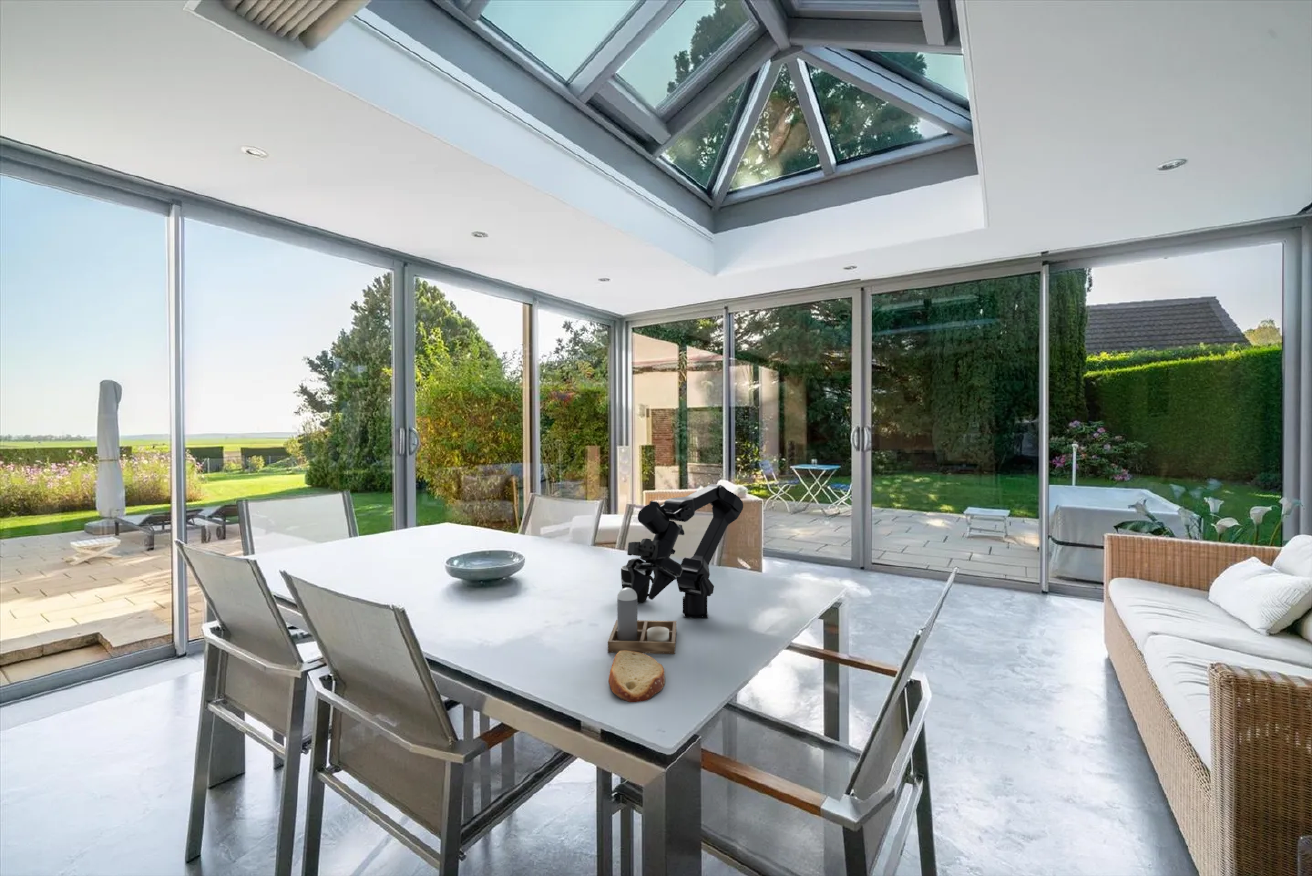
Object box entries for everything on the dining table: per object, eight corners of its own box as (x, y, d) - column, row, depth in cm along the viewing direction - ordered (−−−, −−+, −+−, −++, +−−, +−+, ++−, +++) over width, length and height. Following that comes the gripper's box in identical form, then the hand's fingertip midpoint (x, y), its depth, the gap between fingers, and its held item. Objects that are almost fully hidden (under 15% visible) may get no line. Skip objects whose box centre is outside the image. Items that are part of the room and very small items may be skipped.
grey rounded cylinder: (634, 639, 139) (634, 584, 139) (639, 646, 134) (639, 589, 134) (615, 641, 138) (615, 586, 137) (619, 648, 133) (619, 591, 133)
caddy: (676, 630, 147) (676, 615, 147) (674, 654, 131) (674, 636, 131) (616, 629, 148) (616, 614, 148) (607, 652, 132) (607, 635, 132)
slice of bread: (628, 655, 131) (628, 639, 131) (691, 676, 120) (692, 659, 120) (570, 682, 117) (570, 664, 117) (636, 708, 106) (636, 688, 106)
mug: (614, 601, 173) (614, 568, 173) (633, 594, 180) (633, 562, 180) (645, 608, 165) (645, 573, 165) (664, 601, 173) (664, 568, 172)
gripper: (622, 530, 153) (598, 583, 147) (659, 524, 138) (633, 584, 131) (654, 549, 157) (632, 602, 151) (693, 546, 142) (670, 605, 135)
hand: (640, 598), depth 142 cm, fingers open, 9 cm apart
